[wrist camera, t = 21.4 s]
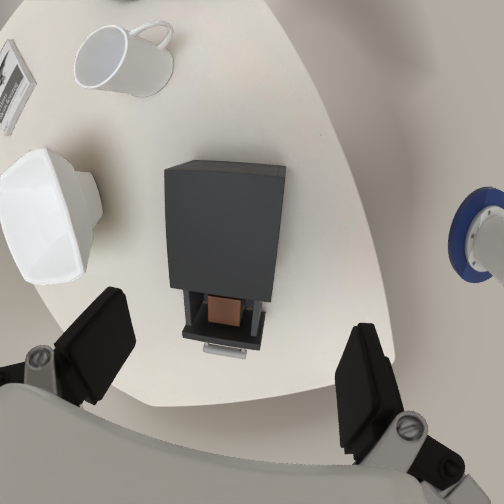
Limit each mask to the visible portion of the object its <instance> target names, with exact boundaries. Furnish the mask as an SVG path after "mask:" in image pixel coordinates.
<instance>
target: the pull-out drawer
mask: <svg viewBox="0 0 504 504" xmlns="http://www.w3.org/2000/svg"><path fill="white" fill-rule="evenodd" d="M183 293H184V306H185V317H186V325H185V327H184V329H183V331H182V336H183V338H187V339H192V340H197V341H202V342H205V344H204V346H203V352H205V353H211V354H216V355H222V356H228V357H234V358H240V359H246V353H247V350H245V349H251V350H260V346H261V340H262V334H263V327H264V321H265V313H266V312H261V308H262V301H256V300H248V299H245V307H252V308H253V310H246V309H244V311H243V315H242V319H241V323H240V326H233V325H227V324H221V323H214V322H209V321H208V304H206V303H203V301H208V294H207V293H200V292H194V291H188V290H183ZM209 343H213V344H209ZM214 344H219V345H214ZM220 345H225V346H231V347H225V346H220ZM232 347H238V348H241V349H238V348H232Z"/></svg>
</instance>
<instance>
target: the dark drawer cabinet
mask: <svg viewBox="0 0 504 504" xmlns="http://www.w3.org/2000/svg"><path fill="white" fill-rule="evenodd" d="M285 173H286V166H277V165H267V164H255V163H242V162H227V161H207V160H193V161H190V162H186V163H183V164H180V165H177V166H174V167H171V168H168V169H165V170H164V178H165V219H166V239H167V254H168V267H169V279H170V288H176V289H182V290H188V291H194V292H200V293H207V294H213V295H220V296H227V297H234V298H241V299H248V300H256V301H264V302H271V296H272V289H273V281H274V273H275V264H276V256H277V248H278V239H279V230H280V221H281V212H282V202H283V193H284V183H285Z"/></svg>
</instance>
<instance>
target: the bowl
mask: <svg viewBox="0 0 504 504" xmlns="http://www.w3.org/2000/svg"><path fill="white" fill-rule="evenodd" d="M102 215H103V211H102V204H101V199H100V195H99V191H98V188H97V186H96V183H95V180H94V178H93V176H92V174H91V173H88V172H81V171H75V170H74V168H73V166H72V164H71V163H69V162H68V161H66V160H65V159H64V158H62V157H61V156H59V155H58V154H57V153H55V152H54V151H52V150H51V149H50V148H48V147H42V148H38V149H34V150H30V151H28V152H27V153H26V154H24V155H23V156H22V157H21V158H19V159H18V160H17V161H16V162H14V163H13V164H12V165H11V166H10V167H9V168H8V169H7V170H6V171H4V172H3V173H2V174H1V176H0V222H1V225H2V229H3V232H4V236H5V239H6V241H7V244H8V246H9V249H10V251H11V254H12V256H13V258H14V260H15V263H16V265H17V267H18V268H19V270H20V272H21V274H22V275H23V277H24V279H25V281H27V282H30V283H33V284H36V285H50V284H59V283H67V282H72V281H73V280H75V279H77V278H78V277H80V276H81V275H83V274H84V273H85V272H86V269H87V264H88V259H89V254H90V250H91V245H92V241H93V232H92V229H93V227H94V226H95V225H96V223H97V222H98V221H99V219H100V218H101V217H102Z"/></svg>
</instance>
